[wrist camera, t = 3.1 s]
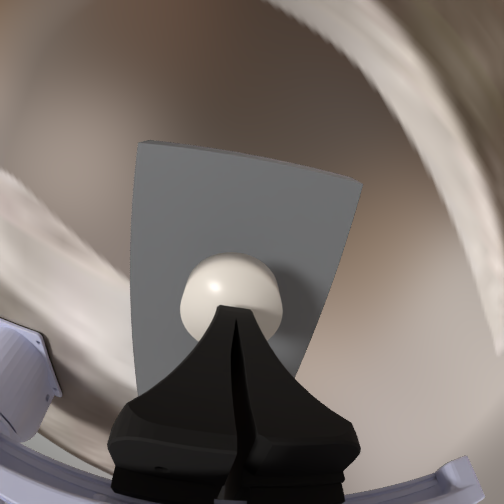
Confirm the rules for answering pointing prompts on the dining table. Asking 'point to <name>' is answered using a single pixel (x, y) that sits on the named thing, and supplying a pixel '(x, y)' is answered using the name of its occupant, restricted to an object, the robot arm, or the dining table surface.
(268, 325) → the outer button
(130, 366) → the dining table surface
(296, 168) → the grey flat board
